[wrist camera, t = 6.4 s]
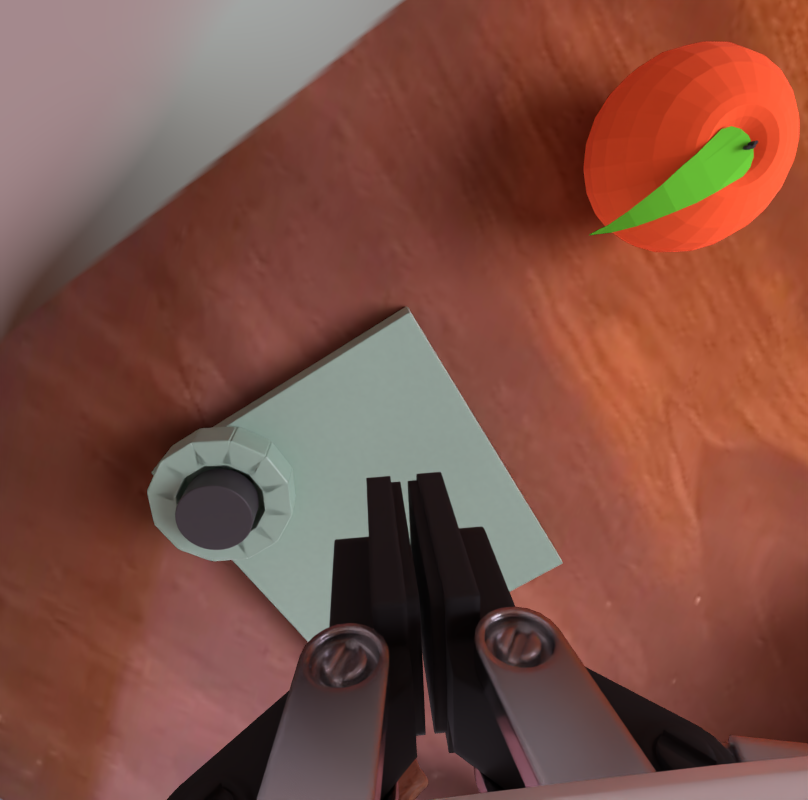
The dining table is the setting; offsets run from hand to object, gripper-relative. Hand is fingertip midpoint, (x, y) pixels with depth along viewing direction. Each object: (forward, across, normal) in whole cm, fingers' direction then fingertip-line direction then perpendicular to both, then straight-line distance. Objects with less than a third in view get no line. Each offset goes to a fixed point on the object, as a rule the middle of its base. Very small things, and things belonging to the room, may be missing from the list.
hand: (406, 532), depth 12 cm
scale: (+14, +1, +8) cm, 16 cm away
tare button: (+11, +7, +5) cm, 14 cm away
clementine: (+14, -11, -8) cm, 19 cm away
